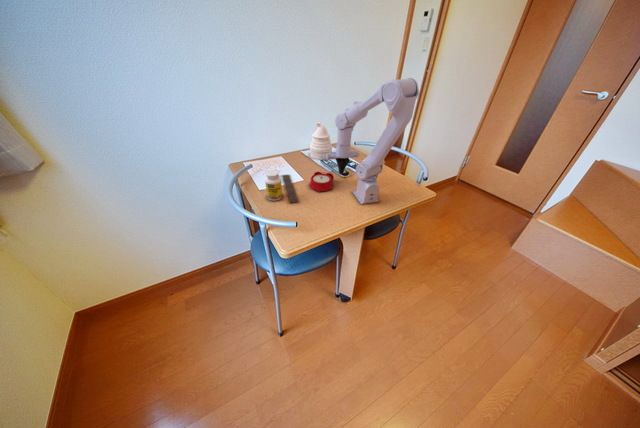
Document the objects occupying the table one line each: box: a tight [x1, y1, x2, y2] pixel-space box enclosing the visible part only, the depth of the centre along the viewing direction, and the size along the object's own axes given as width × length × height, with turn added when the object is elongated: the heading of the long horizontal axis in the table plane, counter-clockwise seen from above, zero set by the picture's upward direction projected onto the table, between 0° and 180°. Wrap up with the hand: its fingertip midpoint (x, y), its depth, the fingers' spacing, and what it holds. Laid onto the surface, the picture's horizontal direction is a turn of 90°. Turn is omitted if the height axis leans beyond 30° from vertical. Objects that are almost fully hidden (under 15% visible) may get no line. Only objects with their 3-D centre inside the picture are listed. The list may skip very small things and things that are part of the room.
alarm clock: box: [309, 171, 335, 193], centre depth 99 cm, size 10×6×15 cm
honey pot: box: [309, 121, 333, 160], centre depth 124 cm, size 13×13×18 cm
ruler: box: [282, 174, 299, 204], centre depth 97 cm, size 24×3×1 cm, turn 16°
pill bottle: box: [264, 170, 283, 202], centre depth 88 cm, size 6×6×11 cm
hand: (340, 173), depth 100 cm, fingers closed
